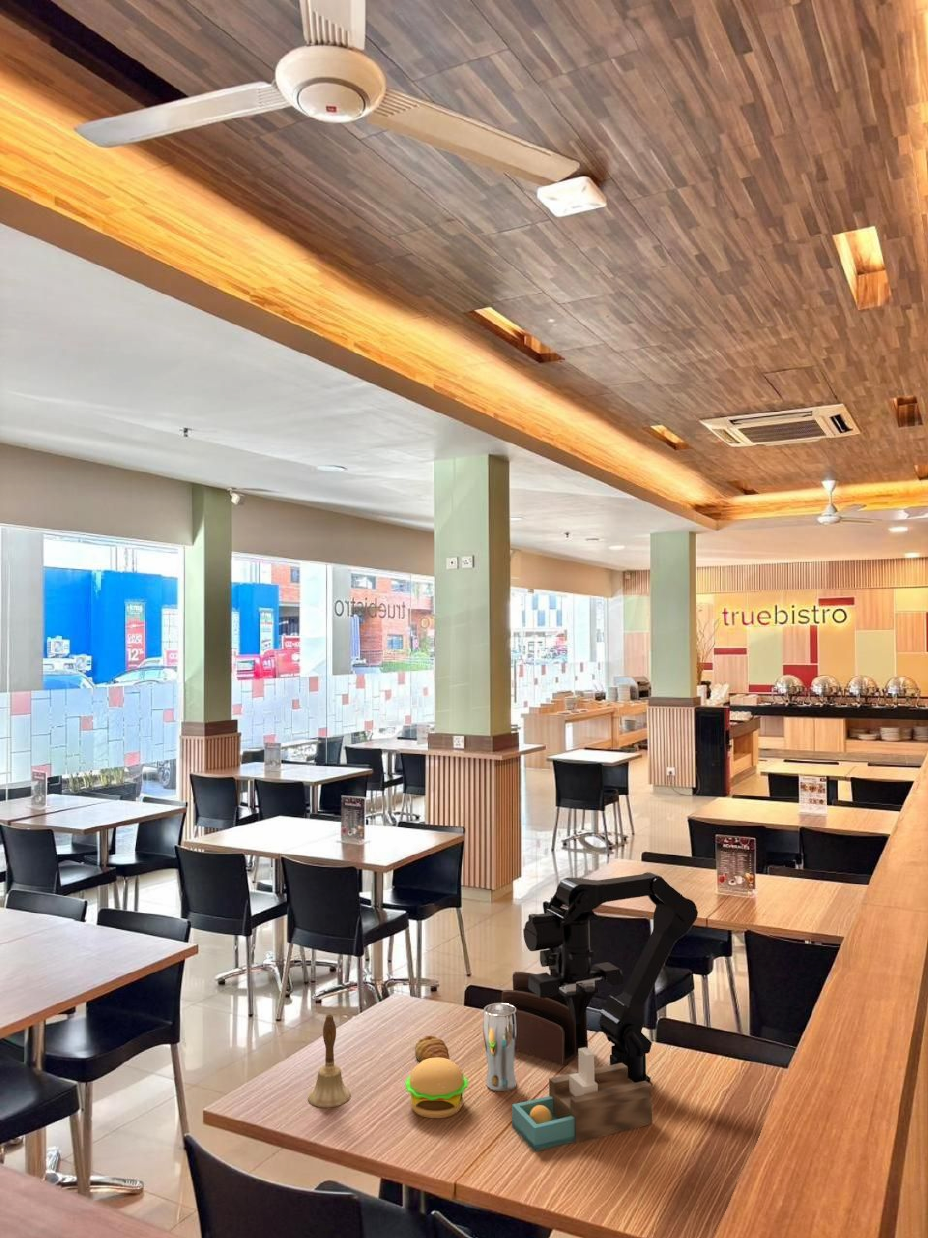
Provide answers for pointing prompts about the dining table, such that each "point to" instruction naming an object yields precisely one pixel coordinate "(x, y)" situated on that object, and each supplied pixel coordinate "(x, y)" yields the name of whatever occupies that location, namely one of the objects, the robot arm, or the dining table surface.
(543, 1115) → the ball
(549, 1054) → the letter holder
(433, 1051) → the pastry
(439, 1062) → the hamburger
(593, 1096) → the launcher deck
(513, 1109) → the teal open box
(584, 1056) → the white offset block
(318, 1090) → the hand bell
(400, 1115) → the dining table surface
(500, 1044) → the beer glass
